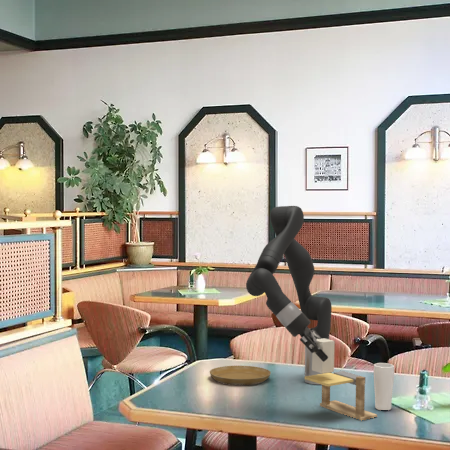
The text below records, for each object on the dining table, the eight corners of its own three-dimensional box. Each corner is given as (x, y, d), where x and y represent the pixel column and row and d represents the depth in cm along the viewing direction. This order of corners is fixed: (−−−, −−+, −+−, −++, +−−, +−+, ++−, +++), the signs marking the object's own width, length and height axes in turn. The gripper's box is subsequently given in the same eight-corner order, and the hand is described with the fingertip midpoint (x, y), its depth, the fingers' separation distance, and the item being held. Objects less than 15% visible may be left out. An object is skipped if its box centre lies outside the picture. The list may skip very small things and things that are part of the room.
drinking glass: (389, 413, 239) (390, 368, 238) (370, 409, 242) (370, 365, 242) (396, 408, 244) (397, 364, 244) (377, 405, 248) (377, 362, 248)
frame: (335, 403, 250) (335, 364, 250) (377, 417, 233) (377, 376, 233) (319, 405, 246) (320, 366, 246) (361, 421, 230) (362, 378, 229)
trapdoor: (342, 376, 246) (342, 370, 246) (366, 383, 236) (366, 377, 236) (304, 382, 236) (304, 376, 236) (327, 390, 227) (327, 383, 227)
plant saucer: (211, 372, 295) (211, 364, 295) (269, 373, 294) (270, 365, 294) (207, 387, 271) (207, 378, 271) (271, 388, 270) (271, 379, 270)
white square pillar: (323, 368, 237) (324, 338, 237) (333, 371, 233) (334, 340, 232) (311, 370, 234) (312, 339, 234) (322, 373, 230) (322, 342, 230)
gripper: (297, 315, 228) (333, 354, 225) (305, 308, 242) (339, 345, 239) (280, 330, 230) (316, 369, 227) (289, 323, 243) (322, 360, 241)
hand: (327, 357), depth 233 cm, fingers closed on white square pillar, 7 cm apart
